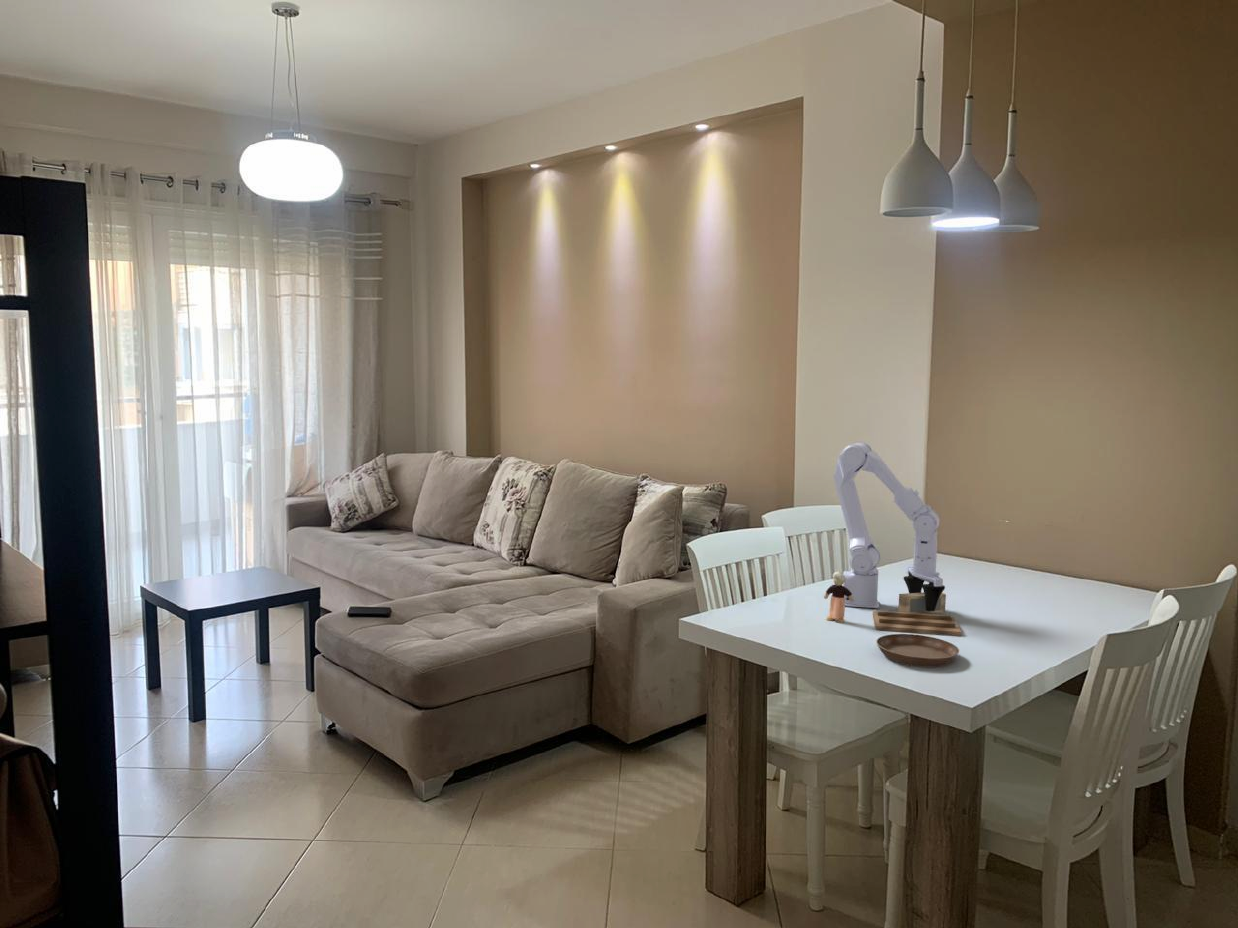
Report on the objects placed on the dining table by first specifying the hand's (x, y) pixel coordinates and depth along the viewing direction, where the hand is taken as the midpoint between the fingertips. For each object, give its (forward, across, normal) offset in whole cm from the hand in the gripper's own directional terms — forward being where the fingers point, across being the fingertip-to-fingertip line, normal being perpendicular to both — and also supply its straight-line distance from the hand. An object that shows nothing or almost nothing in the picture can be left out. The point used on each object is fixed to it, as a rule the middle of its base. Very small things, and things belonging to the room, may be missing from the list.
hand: (922, 606), depth 241 cm
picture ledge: (+1, -10, +8) cm, 13 cm away
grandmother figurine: (+2, -3, +26) cm, 26 cm away
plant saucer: (+2, -33, +21) cm, 39 cm away
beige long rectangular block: (+2, 0, 0) cm, 2 cm away
